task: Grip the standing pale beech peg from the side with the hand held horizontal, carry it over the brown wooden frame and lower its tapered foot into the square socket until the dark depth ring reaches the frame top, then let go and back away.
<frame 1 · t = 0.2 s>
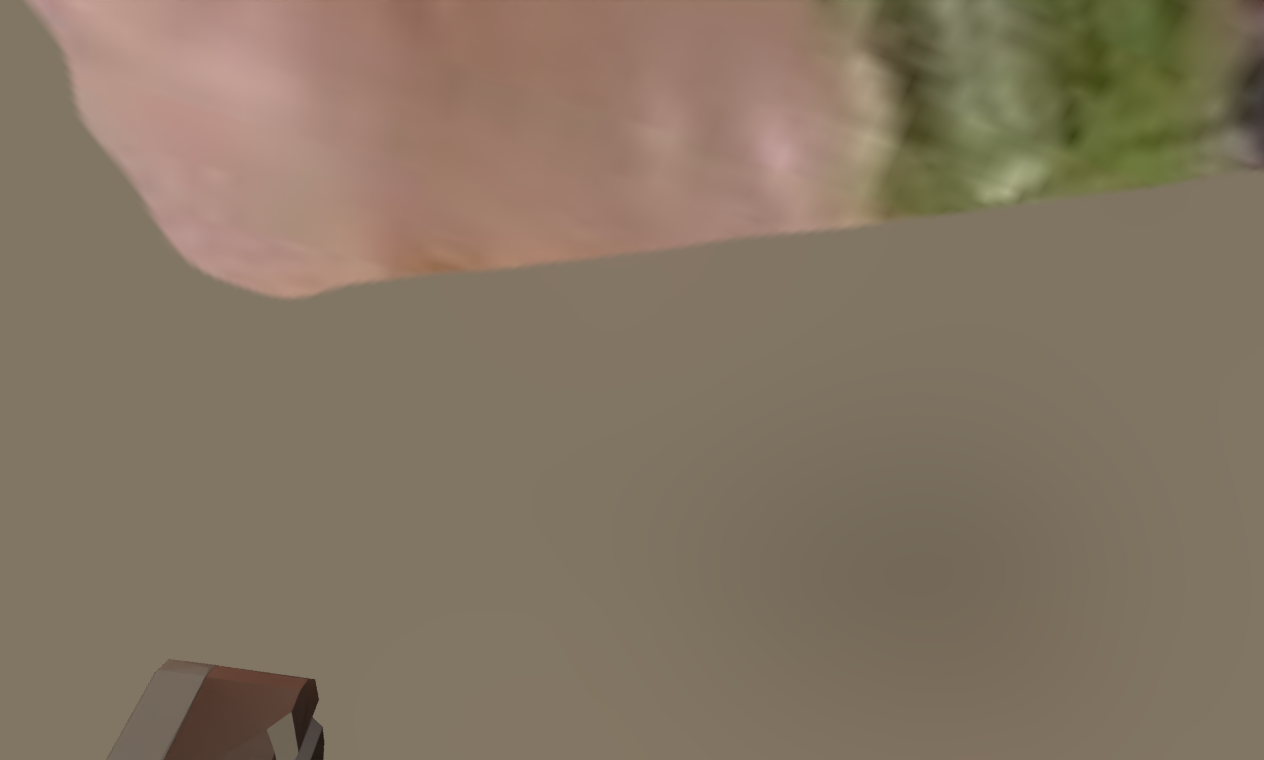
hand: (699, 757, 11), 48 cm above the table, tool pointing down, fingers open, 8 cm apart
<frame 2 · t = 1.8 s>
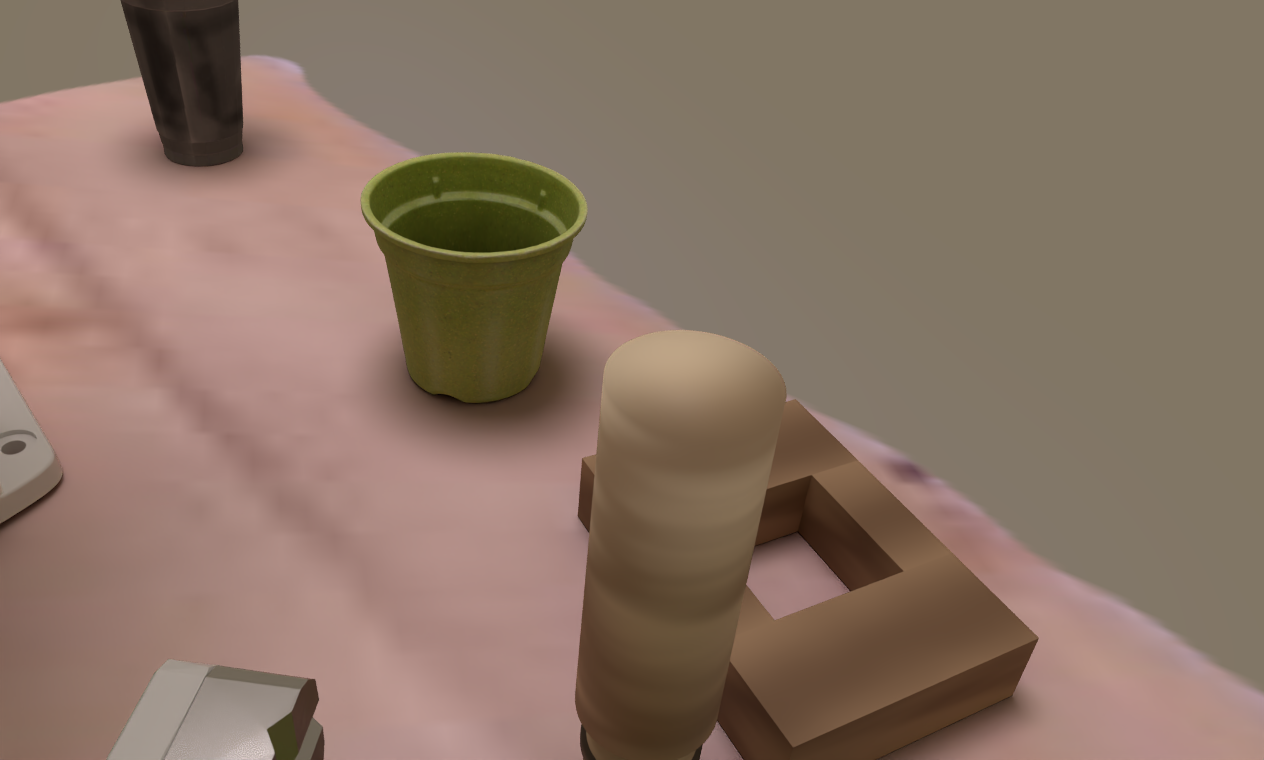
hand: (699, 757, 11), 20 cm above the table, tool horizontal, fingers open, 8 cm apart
beverage cup: (204, 153, 66), on the table
brown wooden frame: (780, 599, 40), on the table
plant pot: (475, 369, 51), on the table
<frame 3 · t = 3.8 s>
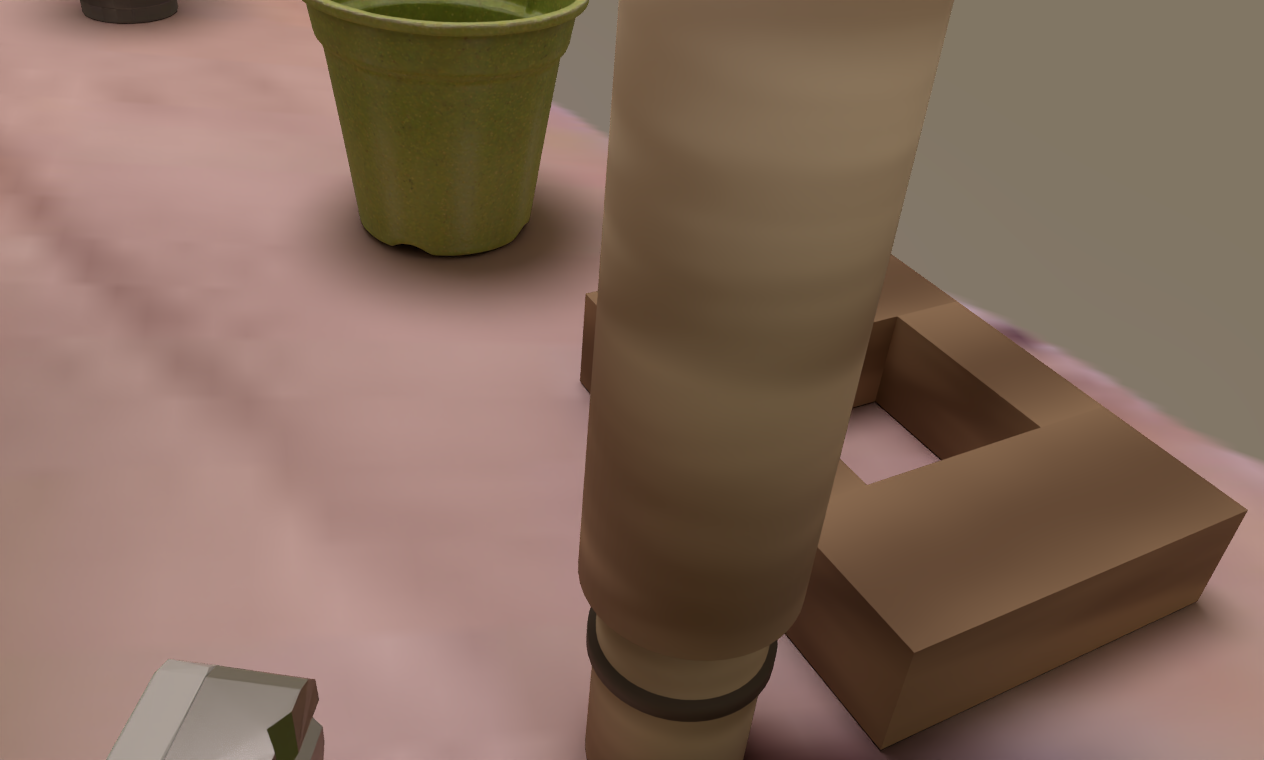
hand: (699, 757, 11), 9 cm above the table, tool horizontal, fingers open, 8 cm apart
peg: (664, 745, 22), on the table
beverage cup: (131, 13, 55), on the table
brown wooden frame: (860, 480, 29), on the table
plant pot: (447, 224, 40), on the table
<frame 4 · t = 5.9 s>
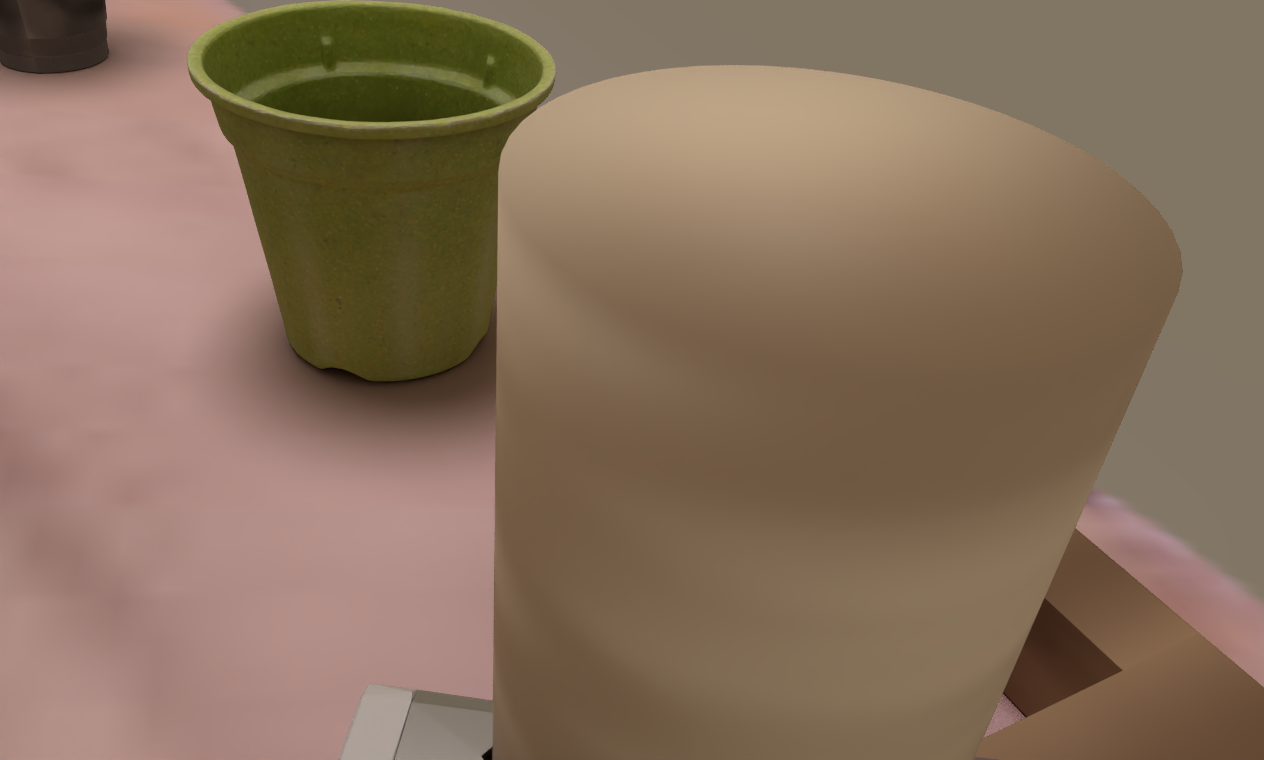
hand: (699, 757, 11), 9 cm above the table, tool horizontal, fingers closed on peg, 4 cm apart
beverage cup: (55, 59, 49), on the table
brown wooden frame: (885, 710, 23), on the table
plant pot: (392, 333, 34), on the table
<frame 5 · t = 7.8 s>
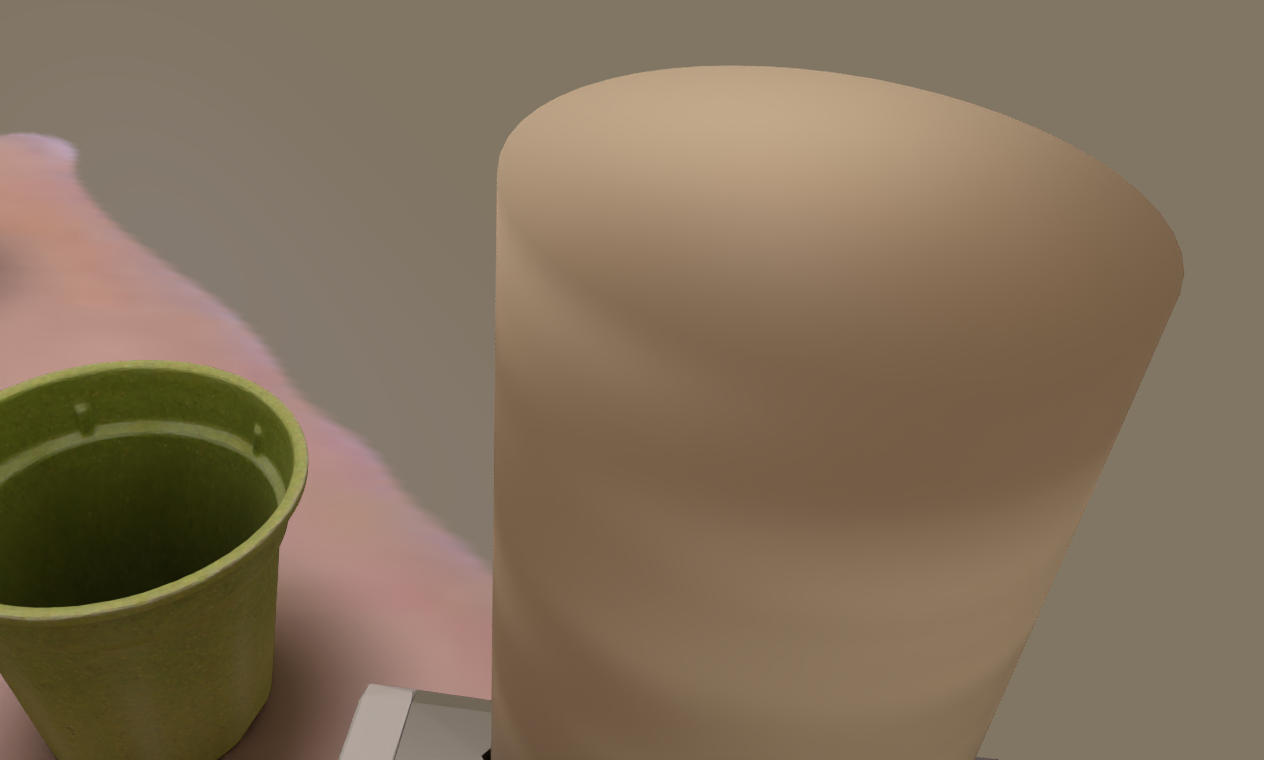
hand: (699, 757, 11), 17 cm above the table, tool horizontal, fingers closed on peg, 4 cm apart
plant pot: (166, 700, 31), on the table
when the fingers open (9 cm above the table, at t = 10.0 s): peg stays where it is, resting in brown wooden frame.
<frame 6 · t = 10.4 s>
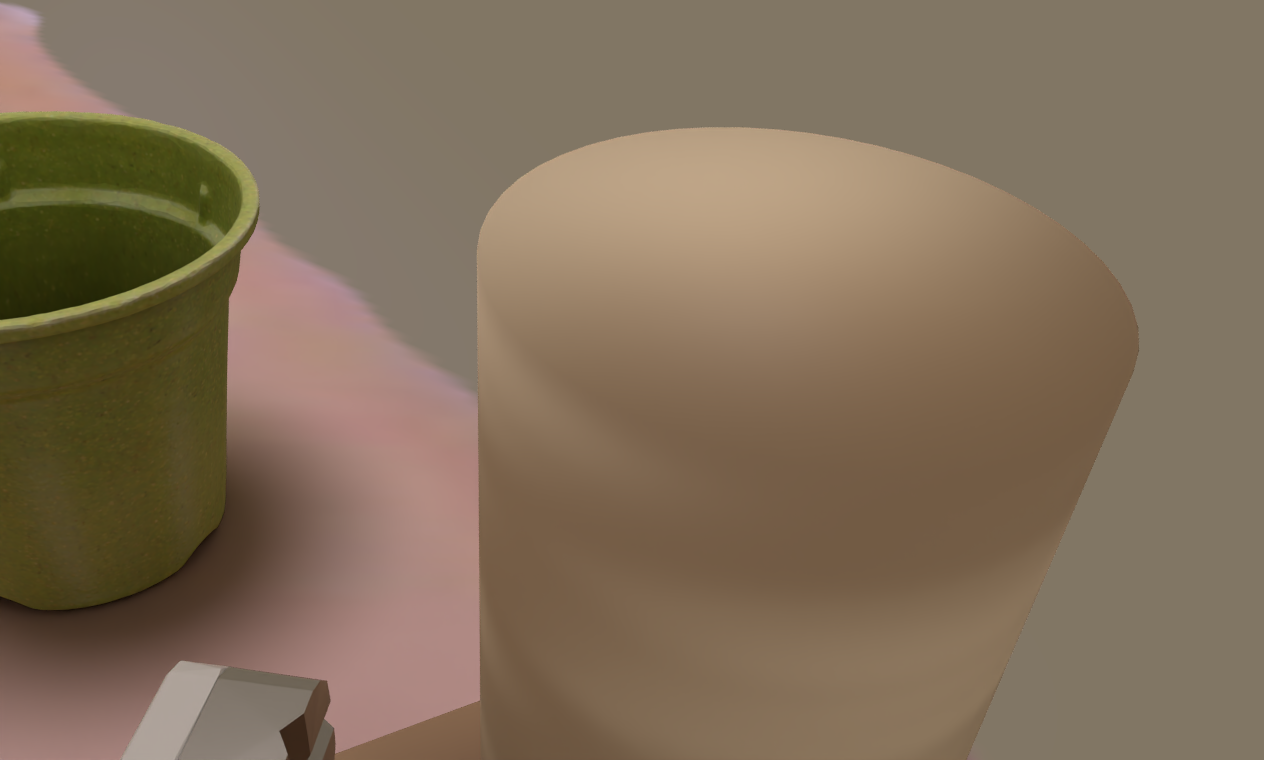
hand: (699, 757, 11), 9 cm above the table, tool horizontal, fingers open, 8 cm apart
plant pot: (100, 527, 27), on the table
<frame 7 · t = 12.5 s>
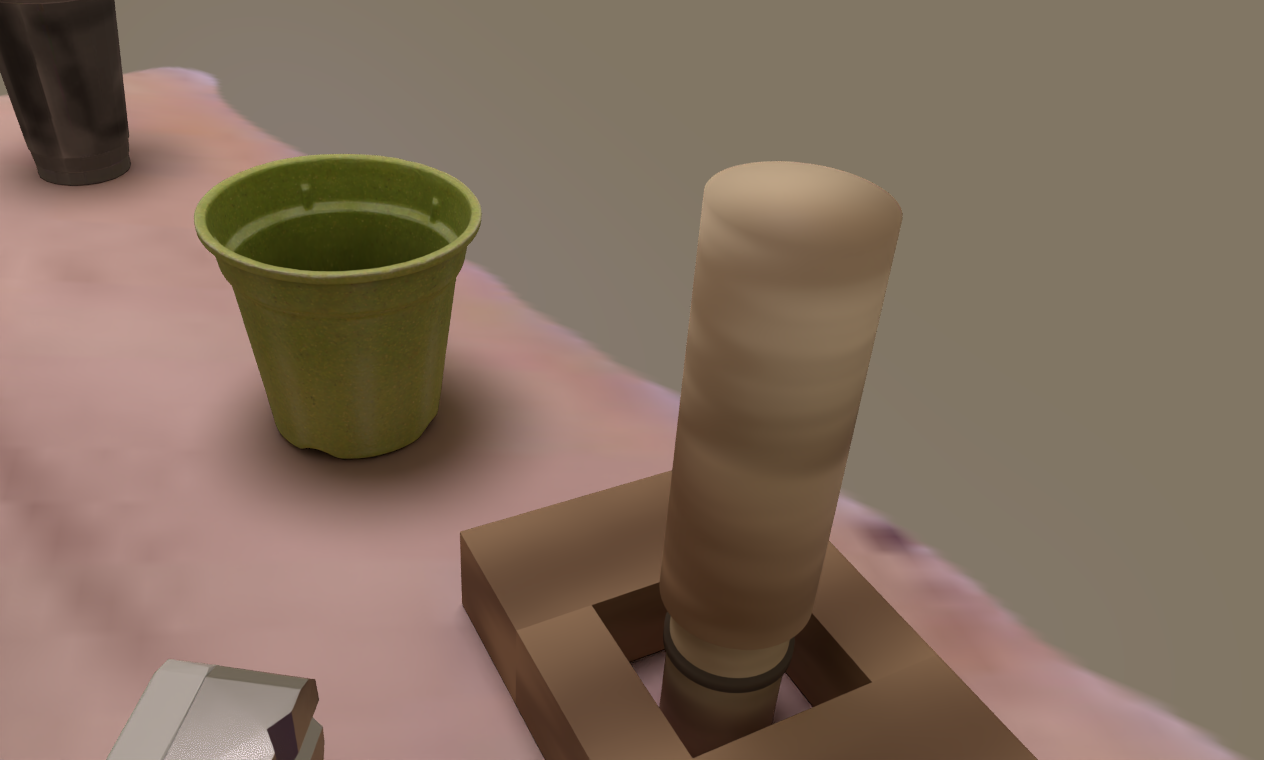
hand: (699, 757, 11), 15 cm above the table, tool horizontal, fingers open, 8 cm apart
peg: (714, 715, 31), resting in brown wooden frame
beverage cup: (85, 171, 58), on the table
brown wooden frame: (715, 714, 31), on the table
plant pot: (360, 417, 42), on the table
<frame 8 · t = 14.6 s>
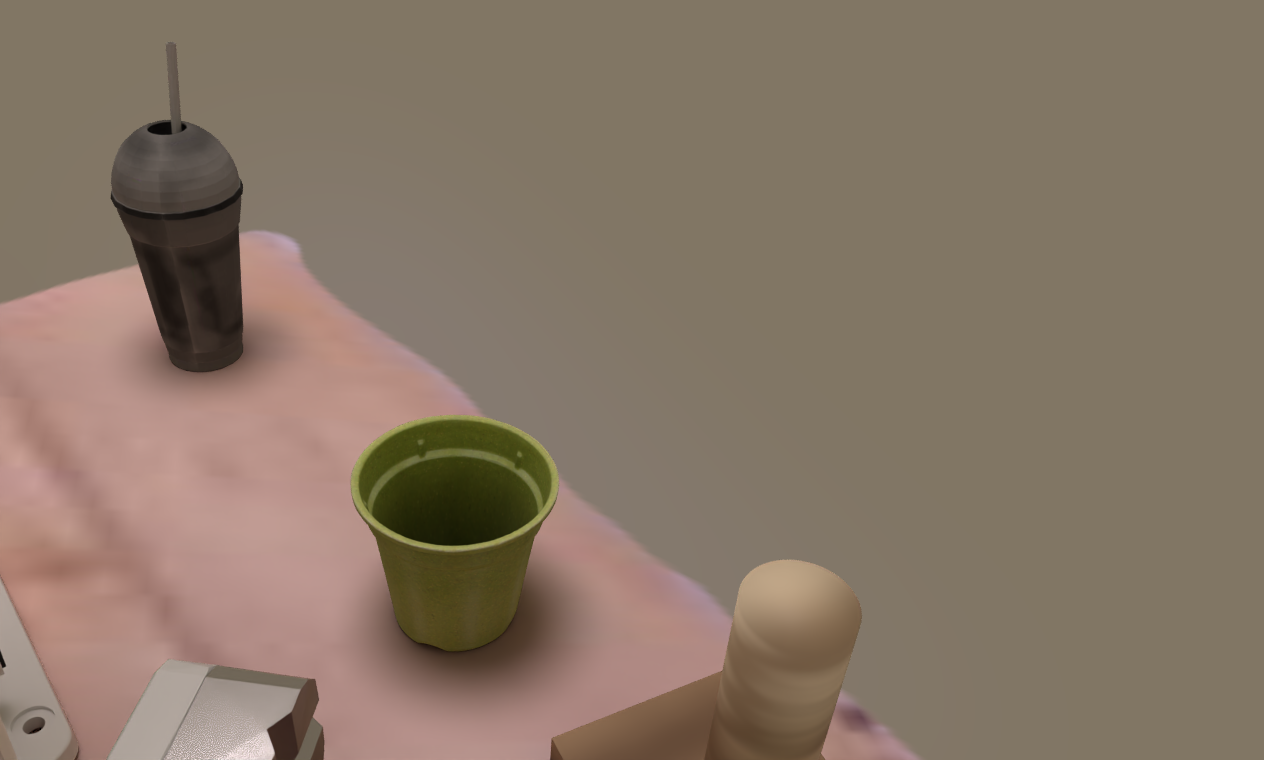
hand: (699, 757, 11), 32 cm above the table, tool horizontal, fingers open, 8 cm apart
beverage cup: (206, 354, 70), on the table
plant pot: (457, 608, 55), on the table
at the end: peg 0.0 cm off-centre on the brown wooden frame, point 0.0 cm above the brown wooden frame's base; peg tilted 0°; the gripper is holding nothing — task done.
